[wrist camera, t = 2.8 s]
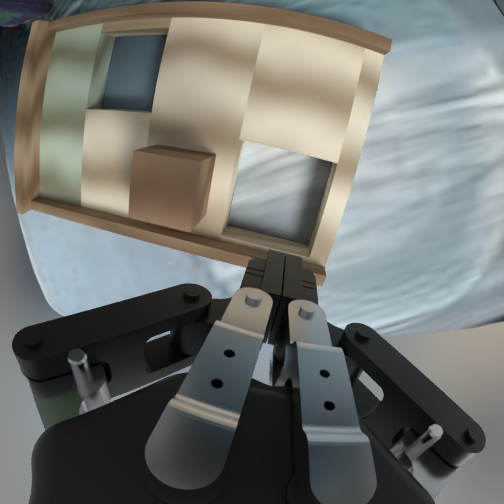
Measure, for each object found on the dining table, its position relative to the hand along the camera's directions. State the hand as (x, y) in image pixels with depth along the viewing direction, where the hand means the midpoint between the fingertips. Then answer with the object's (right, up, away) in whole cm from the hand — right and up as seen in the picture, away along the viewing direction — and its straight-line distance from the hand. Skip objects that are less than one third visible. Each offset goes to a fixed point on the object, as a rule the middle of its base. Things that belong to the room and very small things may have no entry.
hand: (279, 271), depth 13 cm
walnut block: (-7, +7, +9) cm, 14 cm away
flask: (-28, +30, +5) cm, 42 cm away
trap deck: (-8, +12, +10) cm, 18 cm away
